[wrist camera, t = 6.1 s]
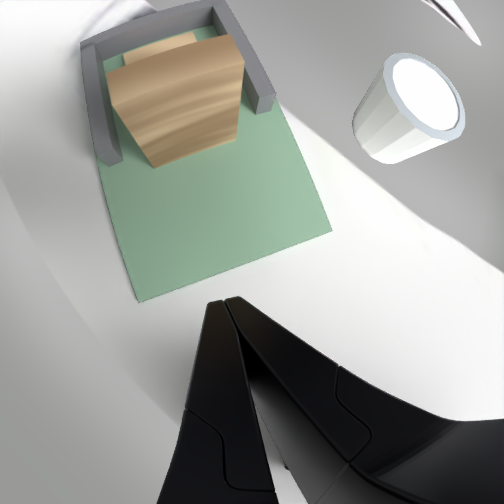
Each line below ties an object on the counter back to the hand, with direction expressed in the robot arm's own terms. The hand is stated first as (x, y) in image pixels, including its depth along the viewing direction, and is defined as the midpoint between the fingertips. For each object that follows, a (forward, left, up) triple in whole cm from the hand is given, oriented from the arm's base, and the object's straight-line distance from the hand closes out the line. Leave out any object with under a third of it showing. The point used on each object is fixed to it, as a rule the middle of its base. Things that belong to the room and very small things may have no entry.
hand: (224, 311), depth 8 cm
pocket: (+12, -11, -12) cm, 20 cm away
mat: (+8, -9, -12) cm, 17 cm away
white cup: (-5, -17, -13) cm, 21 cm away
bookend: (+10, -10, -12) cm, 19 cm away
